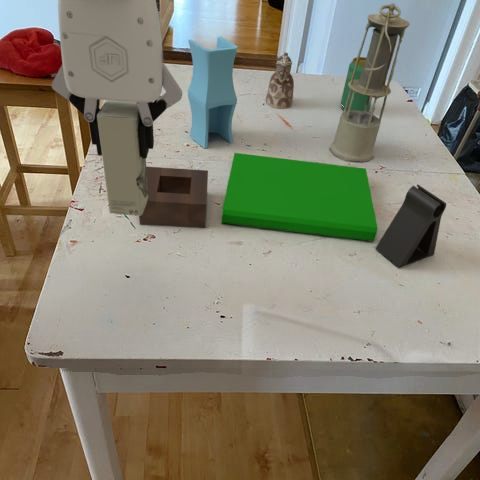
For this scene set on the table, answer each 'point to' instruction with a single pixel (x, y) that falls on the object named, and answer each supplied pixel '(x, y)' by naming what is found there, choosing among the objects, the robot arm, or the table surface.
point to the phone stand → (413, 228)
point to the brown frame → (176, 197)
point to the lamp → (370, 87)
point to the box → (122, 157)
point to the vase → (212, 91)
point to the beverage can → (358, 99)
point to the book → (299, 197)
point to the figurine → (281, 84)
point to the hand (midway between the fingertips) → (124, 150)
